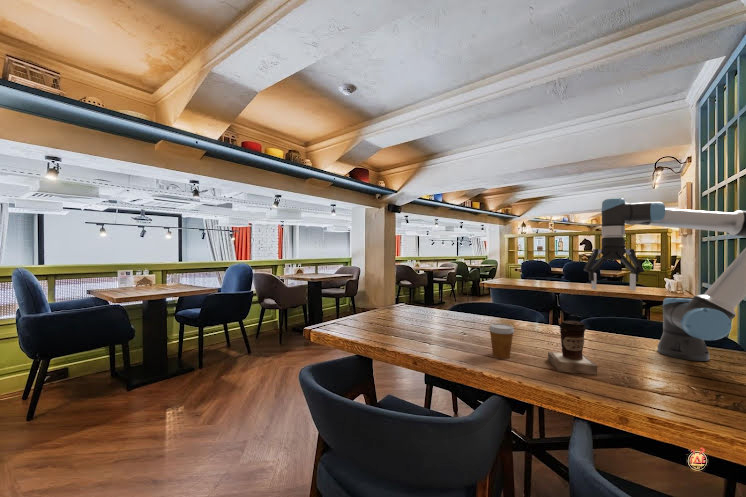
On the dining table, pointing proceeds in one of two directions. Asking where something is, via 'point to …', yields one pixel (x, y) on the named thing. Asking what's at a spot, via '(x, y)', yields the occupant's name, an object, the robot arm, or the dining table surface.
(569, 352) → the coffee cup
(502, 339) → the disposable coffee cup
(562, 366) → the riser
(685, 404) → the dining table surface
